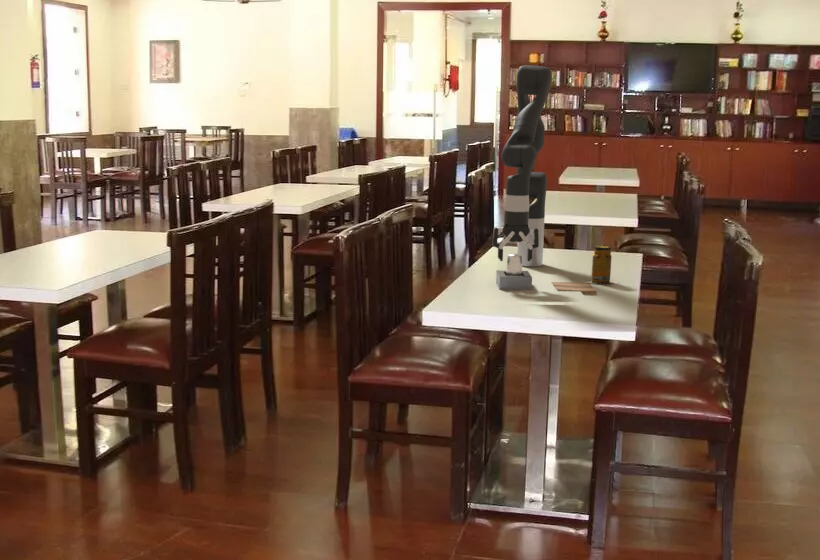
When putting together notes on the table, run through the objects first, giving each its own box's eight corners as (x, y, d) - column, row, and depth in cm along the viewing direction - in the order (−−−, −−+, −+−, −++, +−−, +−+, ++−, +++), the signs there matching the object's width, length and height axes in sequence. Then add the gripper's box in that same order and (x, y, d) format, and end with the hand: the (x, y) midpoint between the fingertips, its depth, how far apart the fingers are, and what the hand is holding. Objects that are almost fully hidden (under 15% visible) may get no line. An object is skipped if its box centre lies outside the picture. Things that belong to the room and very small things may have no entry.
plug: (505, 284, 293) (506, 253, 291) (520, 284, 293) (521, 253, 291) (506, 287, 288) (508, 256, 286) (522, 287, 288) (523, 256, 286)
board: (551, 285, 297) (551, 282, 297) (588, 286, 297) (588, 282, 297) (557, 293, 285) (557, 290, 285) (596, 294, 285) (596, 290, 285)
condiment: (595, 279, 308) (597, 244, 306) (619, 282, 304) (621, 246, 301) (586, 283, 303) (588, 246, 300) (610, 286, 298) (612, 249, 295)
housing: (495, 285, 296) (496, 270, 295) (527, 286, 296) (527, 270, 295) (499, 292, 286) (499, 276, 285) (531, 292, 286) (532, 277, 285)
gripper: (537, 208, 289) (535, 259, 293) (492, 207, 289) (490, 258, 292) (541, 211, 282) (539, 263, 285) (495, 210, 282) (493, 262, 285)
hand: (514, 260), depth 289 cm, fingers open, 8 cm apart
